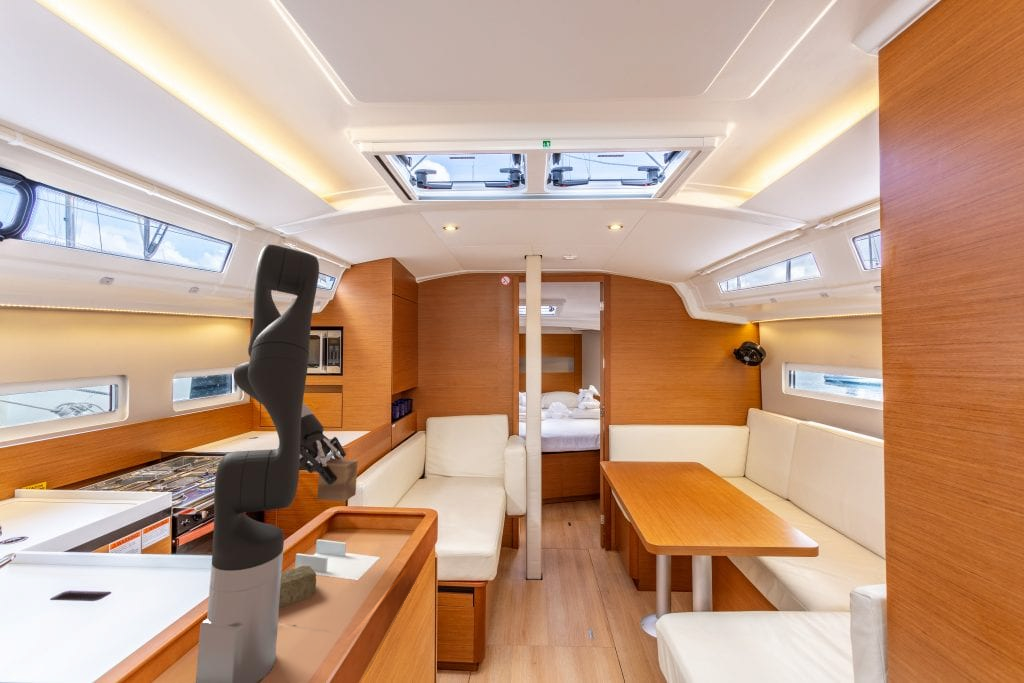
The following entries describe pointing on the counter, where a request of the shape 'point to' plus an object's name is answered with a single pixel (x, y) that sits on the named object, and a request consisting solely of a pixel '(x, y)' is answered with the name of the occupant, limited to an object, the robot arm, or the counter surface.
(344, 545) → the white tray
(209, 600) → the robot arm
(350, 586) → the counter surface
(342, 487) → the walnut block
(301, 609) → the counter surface
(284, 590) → the stone block
